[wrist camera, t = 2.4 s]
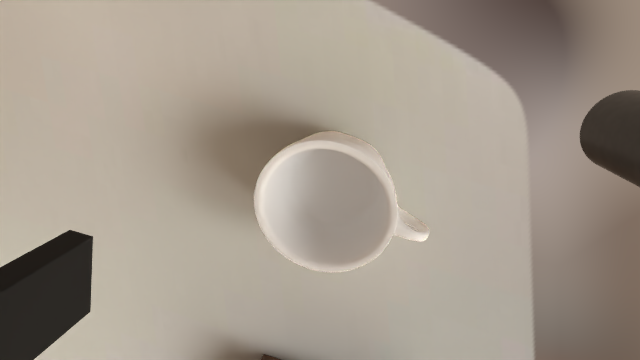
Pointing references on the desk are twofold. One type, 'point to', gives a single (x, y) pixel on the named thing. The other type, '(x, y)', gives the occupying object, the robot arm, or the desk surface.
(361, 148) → the teacup
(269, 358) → the wooden compartment tray
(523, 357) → the desk surface
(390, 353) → the desk surface
